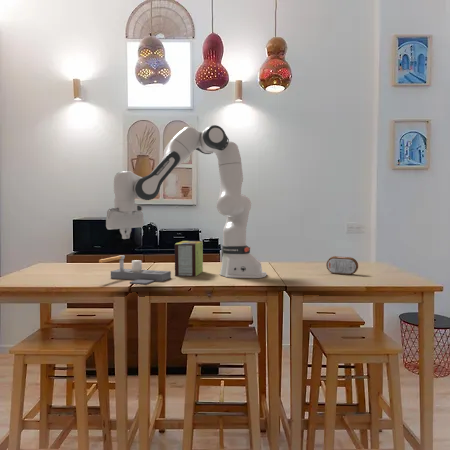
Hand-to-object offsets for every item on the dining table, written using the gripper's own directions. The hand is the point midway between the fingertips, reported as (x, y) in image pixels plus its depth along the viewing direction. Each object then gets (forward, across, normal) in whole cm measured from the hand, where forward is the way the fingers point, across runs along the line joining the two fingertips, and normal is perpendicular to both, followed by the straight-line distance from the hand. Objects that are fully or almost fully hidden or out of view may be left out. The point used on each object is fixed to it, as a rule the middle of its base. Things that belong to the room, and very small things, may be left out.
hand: (125, 238), depth 193 cm
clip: (+10, -2, +7) cm, 12 cm away
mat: (+19, 0, -9) cm, 21 cm away
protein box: (+20, +29, -13) cm, 37 cm away
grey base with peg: (+19, +7, -2) cm, 20 cm away
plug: (+19, +6, 0) cm, 20 cm away
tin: (+22, +67, -77) cm, 104 cm away
